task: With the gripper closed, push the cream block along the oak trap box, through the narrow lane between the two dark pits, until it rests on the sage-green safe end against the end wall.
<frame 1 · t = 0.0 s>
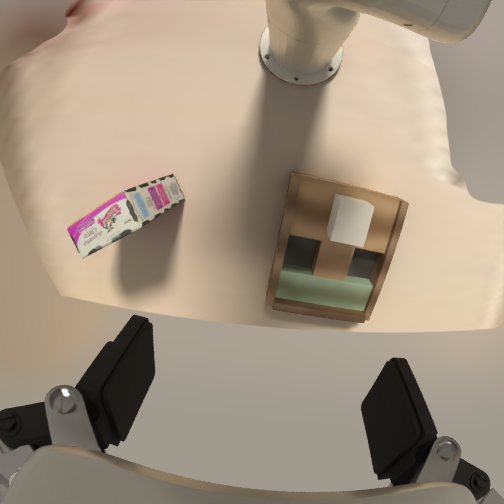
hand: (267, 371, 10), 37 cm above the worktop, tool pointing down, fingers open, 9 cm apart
trap box: (333, 243, 47), on the worktop
cream block: (346, 216, 42), point 3 cm above the worktop, touching trap box
candy bar box: (152, 198, 46), on the worktop
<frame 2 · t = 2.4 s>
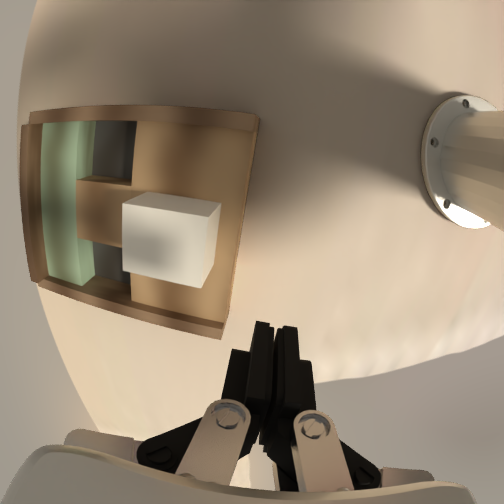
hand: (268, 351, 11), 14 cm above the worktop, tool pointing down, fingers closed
trap box: (135, 208, 25), on the worktop
cream block: (180, 227, 22), point 3 cm above the worktop, touching trap box
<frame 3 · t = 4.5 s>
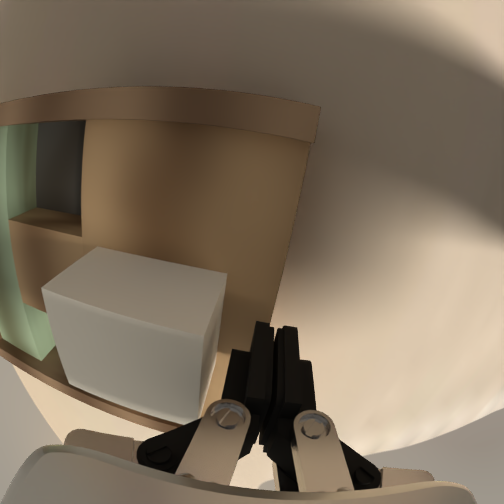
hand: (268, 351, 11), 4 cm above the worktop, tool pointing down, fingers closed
trap box: (100, 261, 15), on the worktop
cream block: (156, 309, 12), point 3 cm above the worktop
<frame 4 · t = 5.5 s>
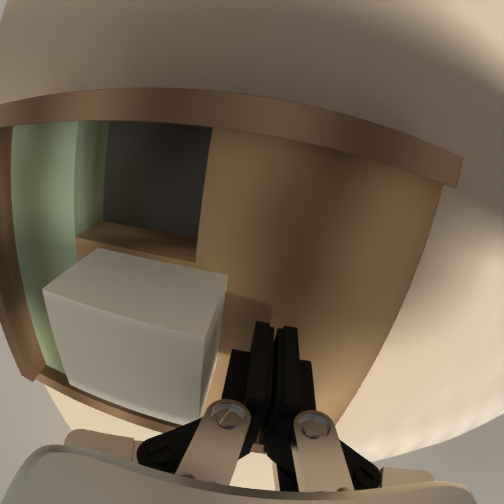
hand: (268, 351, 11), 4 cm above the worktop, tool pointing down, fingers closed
trap box: (187, 282, 15), on the worktop
cream block: (157, 310, 12), point 3 cm above the worktop, touching gripper, trap box
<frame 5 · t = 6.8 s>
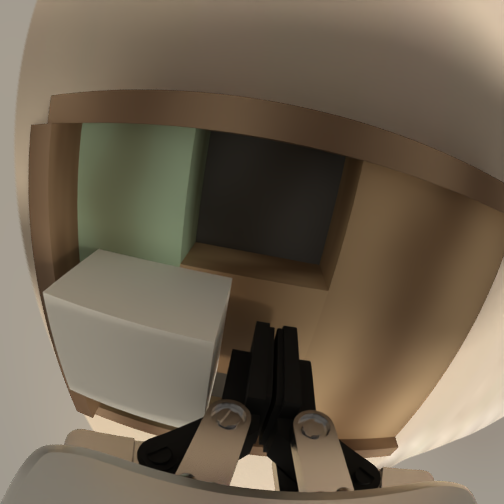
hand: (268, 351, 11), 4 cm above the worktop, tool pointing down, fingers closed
trap box: (286, 305, 15), on the worktop
cream block: (158, 313, 12), point 3 cm above the worktop, touching gripper, trap box
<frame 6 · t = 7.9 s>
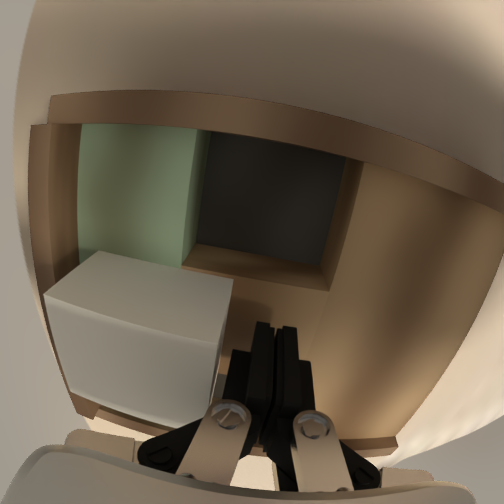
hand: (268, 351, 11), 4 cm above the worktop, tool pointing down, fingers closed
trap box: (286, 306, 15), on the worktop
cream block: (159, 314, 12), point 3 cm above the worktop, touching gripper, trap box
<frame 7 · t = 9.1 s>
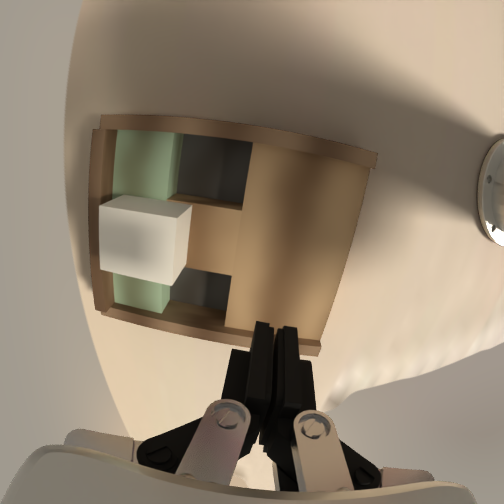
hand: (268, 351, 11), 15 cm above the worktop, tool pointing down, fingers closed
trap box: (229, 231, 26), on the worktop
cream block: (154, 229, 23), point 3 cm above the worktop, touching trap box
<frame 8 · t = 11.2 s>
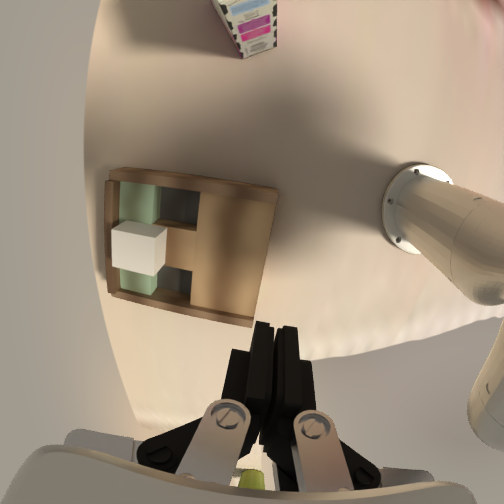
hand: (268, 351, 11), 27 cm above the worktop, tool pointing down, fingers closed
trap box: (193, 242, 39), on the worktop
plant pot: (252, 472, 64), on the worktop
cream block: (145, 241, 37), point 3 cm above the worktop, touching trap box
candy bar box: (243, 21, 28), on the worktop
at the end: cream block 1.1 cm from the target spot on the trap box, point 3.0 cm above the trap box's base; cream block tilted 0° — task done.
